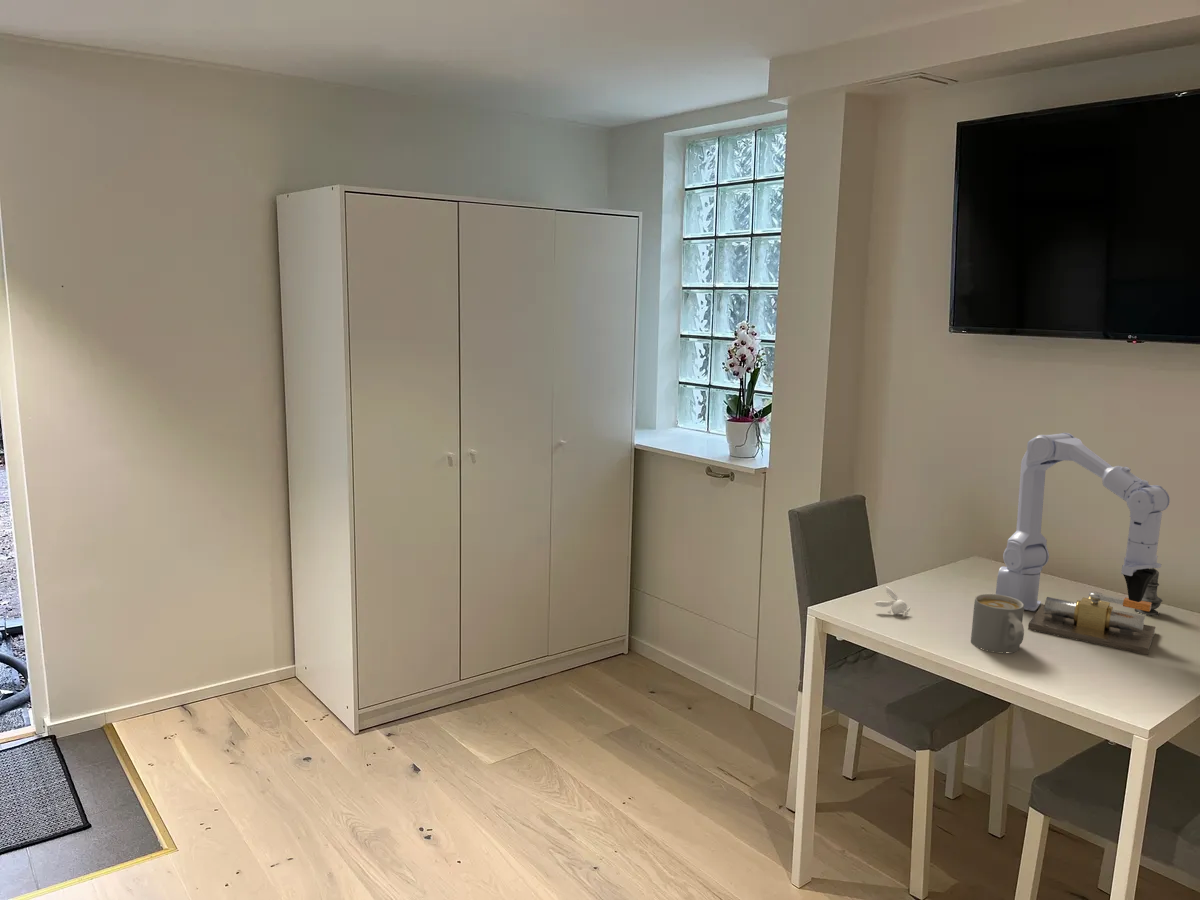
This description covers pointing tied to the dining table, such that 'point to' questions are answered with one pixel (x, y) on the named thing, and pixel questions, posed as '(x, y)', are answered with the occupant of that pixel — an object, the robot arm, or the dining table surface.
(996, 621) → the coffee mug
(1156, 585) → the salt shaker
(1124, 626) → the valve manifold
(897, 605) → the rabbit figurine
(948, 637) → the dining table surface
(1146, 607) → the valve lever
